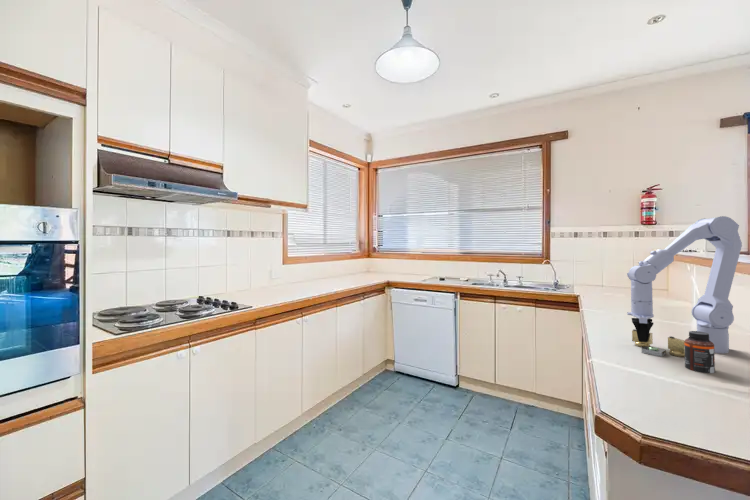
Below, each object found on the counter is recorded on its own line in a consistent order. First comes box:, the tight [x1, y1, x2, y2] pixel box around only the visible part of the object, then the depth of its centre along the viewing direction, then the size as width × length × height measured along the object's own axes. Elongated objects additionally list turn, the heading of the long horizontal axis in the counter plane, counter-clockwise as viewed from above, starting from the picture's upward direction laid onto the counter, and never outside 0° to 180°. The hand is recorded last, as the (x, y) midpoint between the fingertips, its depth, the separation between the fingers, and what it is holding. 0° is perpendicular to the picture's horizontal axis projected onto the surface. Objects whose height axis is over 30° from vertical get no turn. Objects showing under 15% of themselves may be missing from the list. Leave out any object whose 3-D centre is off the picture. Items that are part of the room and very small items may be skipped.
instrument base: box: [641, 346, 667, 358], centre depth 108 cm, size 12×16×3 cm
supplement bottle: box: [684, 330, 716, 374], centre depth 92 cm, size 6×6×11 cm
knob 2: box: [667, 335, 685, 358], centre depth 104 cm, size 5×4×5 cm
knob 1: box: [631, 328, 654, 348], centre depth 114 cm, size 5×4×5 cm
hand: (642, 340), depth 114 cm, fingers closed on knob 1, 3 cm apart
